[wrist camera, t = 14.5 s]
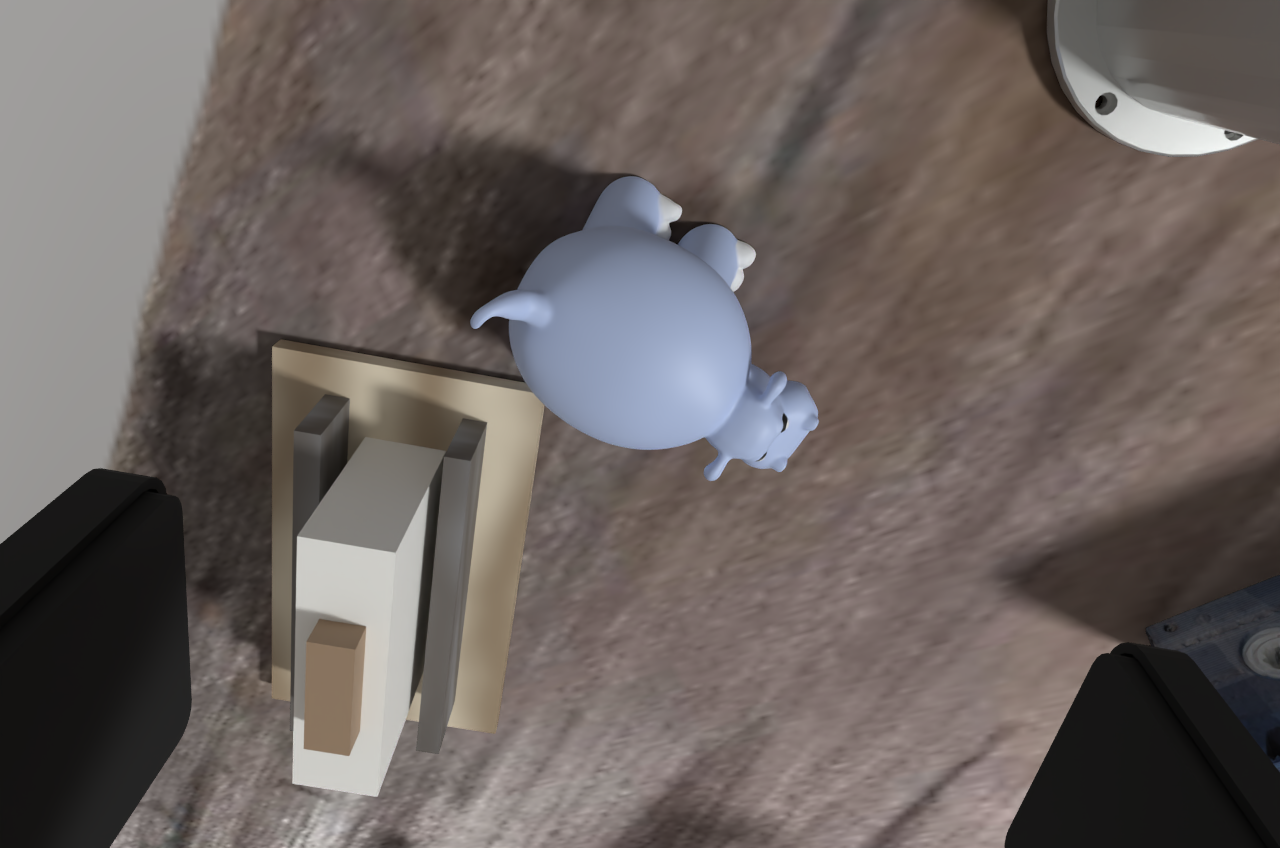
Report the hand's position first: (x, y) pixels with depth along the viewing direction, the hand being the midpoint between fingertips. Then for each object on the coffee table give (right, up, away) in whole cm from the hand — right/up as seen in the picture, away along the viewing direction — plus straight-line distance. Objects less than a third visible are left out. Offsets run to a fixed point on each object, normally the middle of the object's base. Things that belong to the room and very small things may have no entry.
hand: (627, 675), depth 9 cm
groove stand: (-13, -4, +39) cm, 42 cm away
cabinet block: (-13, -5, +39) cm, 41 cm away
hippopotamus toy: (+1, +7, +34) cm, 35 cm away
